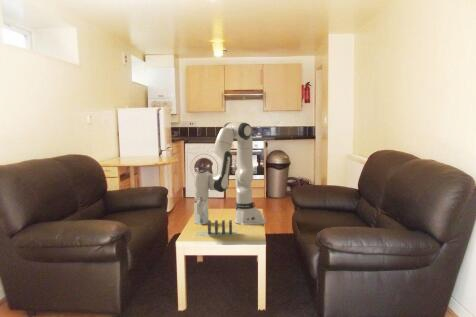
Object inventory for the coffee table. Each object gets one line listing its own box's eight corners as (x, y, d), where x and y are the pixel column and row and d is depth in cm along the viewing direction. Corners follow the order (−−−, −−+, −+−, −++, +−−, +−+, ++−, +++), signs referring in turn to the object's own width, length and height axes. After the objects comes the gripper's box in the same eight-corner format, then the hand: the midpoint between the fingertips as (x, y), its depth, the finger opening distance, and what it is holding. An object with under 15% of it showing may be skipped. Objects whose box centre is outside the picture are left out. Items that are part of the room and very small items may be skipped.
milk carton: (194, 223, 243) (193, 197, 241) (202, 221, 248) (201, 195, 246) (201, 225, 238) (200, 198, 236) (208, 223, 243) (208, 196, 241)
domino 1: (203, 221, 220) (203, 209, 220) (202, 223, 216) (202, 211, 215) (200, 221, 220) (200, 209, 220) (200, 223, 216) (199, 211, 215)
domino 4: (225, 232, 221) (224, 220, 220) (224, 234, 217) (224, 222, 216) (222, 232, 221) (222, 220, 220) (222, 234, 217) (221, 222, 216)
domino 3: (218, 232, 221) (217, 220, 220) (217, 234, 217) (217, 222, 216) (215, 232, 221) (215, 220, 220) (215, 234, 217) (214, 222, 216)
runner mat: (237, 232, 222) (236, 231, 222) (236, 235, 215) (236, 235, 215) (197, 232, 223) (197, 231, 223) (195, 236, 216) (195, 235, 216)
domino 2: (211, 232, 221) (210, 220, 220) (210, 234, 217) (210, 222, 216) (208, 232, 221) (208, 220, 221) (207, 234, 217) (207, 222, 216)
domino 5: (232, 232, 221) (231, 220, 220) (231, 234, 217) (231, 222, 216) (229, 232, 221) (229, 220, 220) (229, 234, 217) (229, 222, 216)
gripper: (204, 199, 206) (204, 222, 208) (208, 192, 226) (208, 213, 228) (194, 199, 206) (194, 222, 208) (198, 192, 227) (198, 213, 228)
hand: (201, 217), depth 218 cm, fingers closed on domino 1, 4 cm apart
